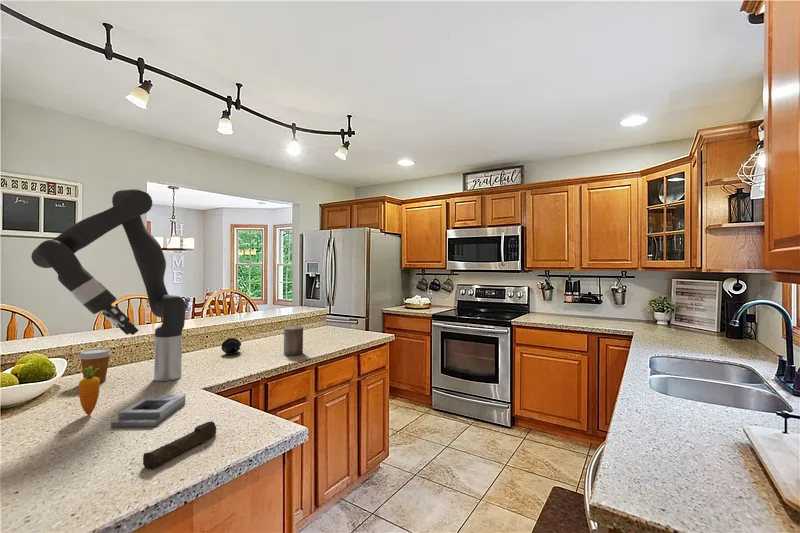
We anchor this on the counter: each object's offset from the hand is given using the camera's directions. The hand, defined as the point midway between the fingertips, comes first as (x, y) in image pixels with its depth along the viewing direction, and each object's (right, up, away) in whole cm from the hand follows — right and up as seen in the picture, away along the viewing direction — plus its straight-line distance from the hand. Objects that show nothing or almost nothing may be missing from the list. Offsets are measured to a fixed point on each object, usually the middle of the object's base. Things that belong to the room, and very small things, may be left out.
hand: (133, 332), depth 123 cm
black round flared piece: (+2, -23, +69) cm, 73 cm away
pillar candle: (+33, -24, +70) cm, 81 cm away
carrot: (-6, -23, -10) cm, 26 cm away
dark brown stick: (+34, -25, -29) cm, 51 cm away
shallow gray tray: (+12, -24, -9) cm, 28 cm away
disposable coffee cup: (-28, -22, +19) cm, 41 cm away
